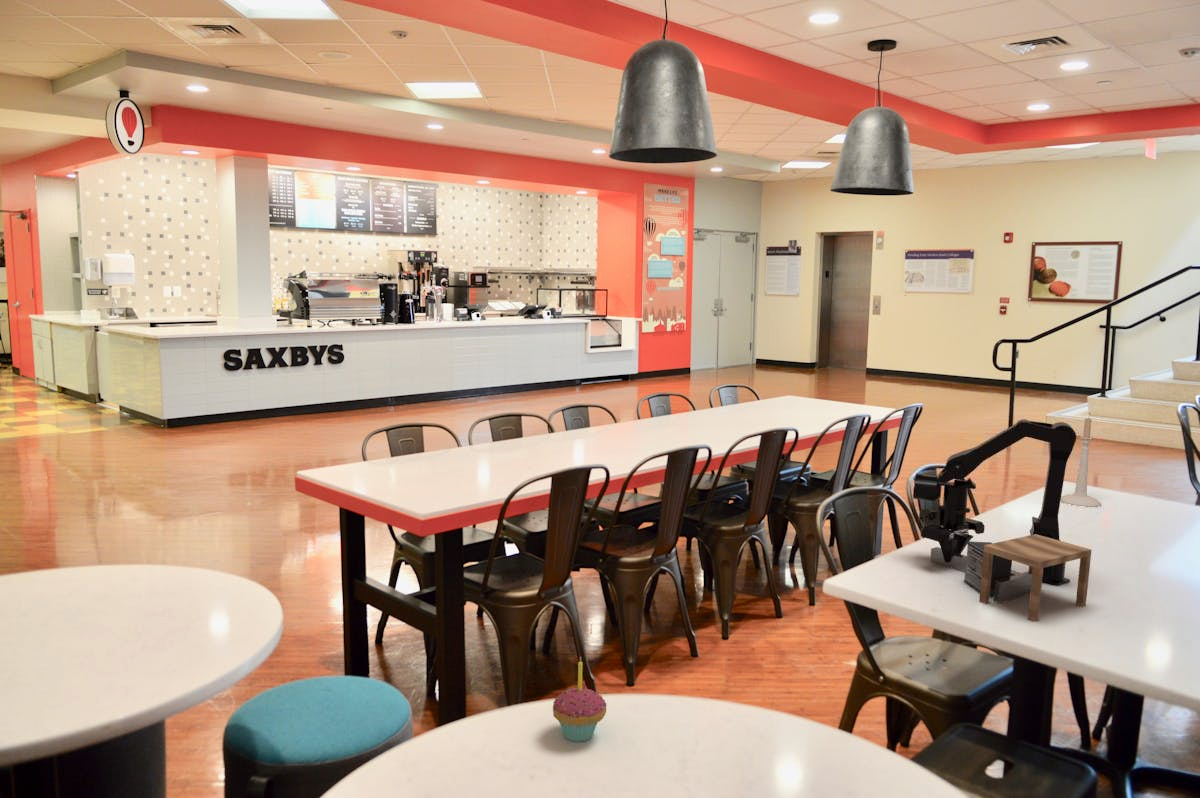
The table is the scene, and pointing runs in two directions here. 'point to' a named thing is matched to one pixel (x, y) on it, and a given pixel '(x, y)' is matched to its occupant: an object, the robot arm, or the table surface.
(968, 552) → the small box
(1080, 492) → the candlestick
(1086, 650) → the table surface
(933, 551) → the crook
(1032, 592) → the small wooden table
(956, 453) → the robot arm
